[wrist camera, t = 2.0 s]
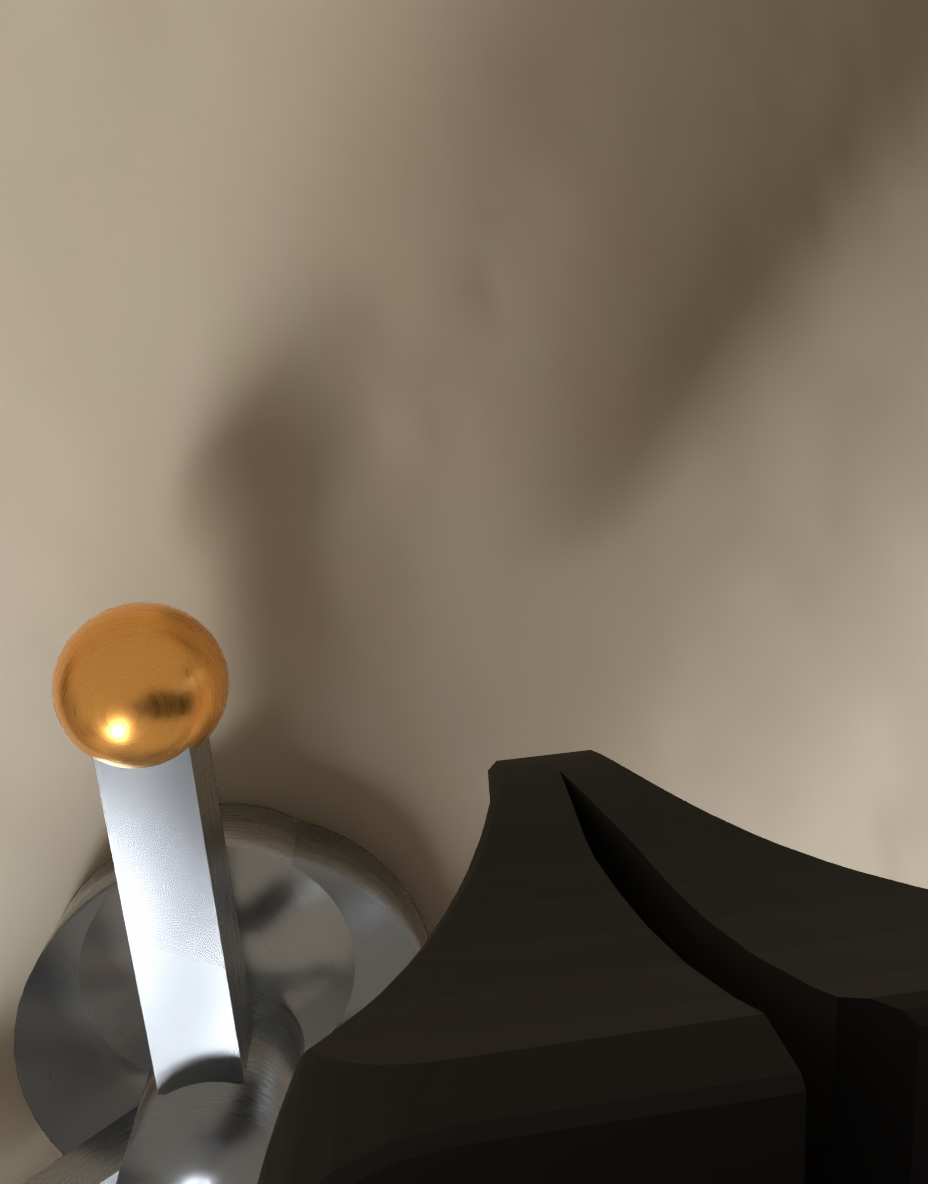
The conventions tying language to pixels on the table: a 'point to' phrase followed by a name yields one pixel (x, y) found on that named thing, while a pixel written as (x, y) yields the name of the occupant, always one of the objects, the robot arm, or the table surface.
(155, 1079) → the cam capstan
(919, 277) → the table surface
